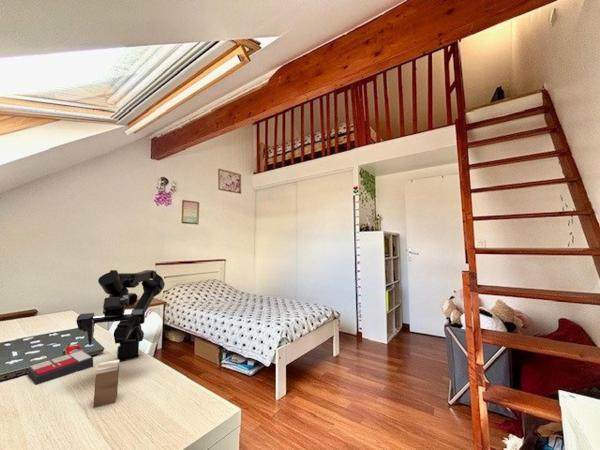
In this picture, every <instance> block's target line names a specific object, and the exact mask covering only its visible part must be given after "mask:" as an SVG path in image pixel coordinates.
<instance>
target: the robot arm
mask: <svg viewBox="0 0 600 450" xmlns="http://www.w3.org/2000/svg"><path fill="white" fill-rule="evenodd" d="M97 281H98V284H99V285H100V287H101V288H102V290H103V292H104V293H105V294H107V295H108V297H104V300H103V301H104V302H103V305H102V308H103V309H102V314H103V315H100V316H99V315H98V316H95V313H94V312H88V313H87V312H86V313H81V314H79V315H78V316H77V317H76V319H75V320H76V324H77V328H78V330H79V331H82V332H84V333H85V332H86V333H87V340H88V345H89V346H91V345H92V343H93V340H94V333H95V326H96V324H98V323H99V324H100V323H112V322H118V324H117V325H116V327H115V329H114V330H113V338H114V344H119V345H118V346H117V349H116V350H117V351H116V358H117V360H119V363H120V362H123V361H124V362H125V361H128V360H133V359H137V358H139V357H140V355H139V351H140V350H139V348H140V347H139V346H140V342H143V340H144V336H145V332H144V331H143V329H142V325H143V324H145V320H146V312H147V311H148V308H149V307H150V305H151V304H152V302H153V300H154V298H155V297H156V296H158V295H160V294H161V292H162V291H163V290H164V288H165V285H166V284H165V281H164V278H163V277H162V276H161V275H160V274H158V273H157V271H156V270H153V269H152V270H151V269H149V270H146V269H145V270H143V271H139V272H135V273H134V272H132V273H131V272H130V273H129V272H126V273H125V272H124V273H123V272H121V273H119V272H118V270H116V269H111V270H110V271H109V272H107V273H104V274H103V275H101V276H99V278H98V280H97ZM140 283H141V286H142V289H143V293H142V294H141V296H140V298H139V299H138V300H137V302H136V304H135V306H134V308H133V309H131V313H127V314H125V312H126V311H125V310H126V308H127V307H126V306H129V304H130V303H129V302H130V294H129V293H130V292H129V289H135V288H136V287H138V286H140Z"/></svg>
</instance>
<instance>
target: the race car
mask: <svg viewBox="0 0 600 450" xmlns="http://www.w3.org/2000/svg"><path fill="white" fill-rule="evenodd" d="M79 351H83V352H85V351H84V349H83V347H82V346H81V345H80V344H78V343H74V344H70V345H66V346H65V347H63V349H62V355H63V354H64V355H70V354H72V353H76V352H79ZM64 355H63V356H64Z"/></svg>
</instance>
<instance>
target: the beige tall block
mask: <svg viewBox="0 0 600 450" xmlns="http://www.w3.org/2000/svg"><path fill="white" fill-rule="evenodd" d="M119 371H120V361H119V359H116V360H115V359H114V360H110V361H105V362H99V363H98V365H97V368H96V369H95V376H94V377H95V380H94V392H93V394H94V395H93V405H92V408H93V409H96V408H99V407H103V405H104V406H107V405H111V404H115V403H116V401H117V397H118V389H119V388H118V387H119V373H120V372H119Z"/></svg>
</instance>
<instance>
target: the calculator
mask: <svg viewBox="0 0 600 450" xmlns="http://www.w3.org/2000/svg"><path fill="white" fill-rule="evenodd" d="M83 351H84V350H83ZM83 351H79V352H76V353H72V354H70V355H60V356H58V357H55V358H52V359H50V360H45V361H43V362H40V363H39V362H38V363H36V364H32V365H30V367H28V368H27V377H28V378H29V379H30V380H31V381H32V382H33V384H35V385H40V384H45V383H47V382H50V381H53V380H57V379H59V378H62V377H65V376H67V375H71V374H74V373H76V372H80V371H84V370H87V369H90V368H93V367H94V357H93V356H91V355H90V354H88V353H86V352H85V351H84V352H83Z"/></svg>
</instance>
